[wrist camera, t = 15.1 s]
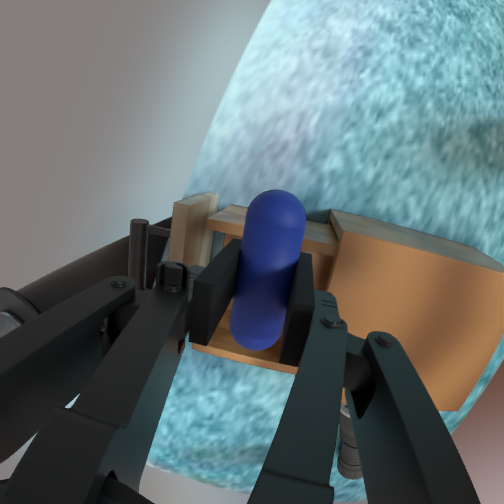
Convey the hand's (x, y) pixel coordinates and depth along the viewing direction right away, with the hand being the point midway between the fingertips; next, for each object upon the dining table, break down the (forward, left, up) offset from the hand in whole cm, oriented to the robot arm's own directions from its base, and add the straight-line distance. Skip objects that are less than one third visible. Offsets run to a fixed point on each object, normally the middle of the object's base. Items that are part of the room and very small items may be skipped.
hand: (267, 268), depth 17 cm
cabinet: (+12, -4, -12) cm, 18 cm away
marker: (0, 0, 0) cm, 0 cm away
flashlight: (+15, -23, -12) cm, 30 cm away
